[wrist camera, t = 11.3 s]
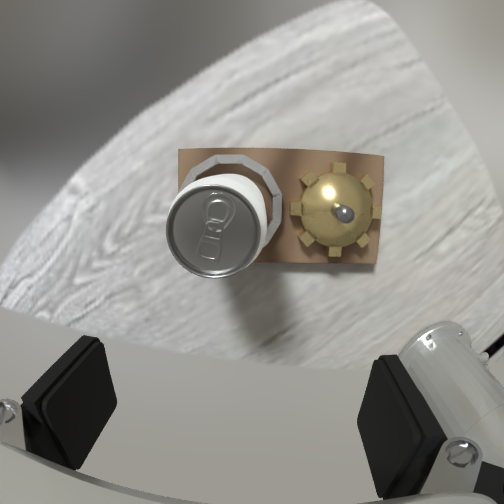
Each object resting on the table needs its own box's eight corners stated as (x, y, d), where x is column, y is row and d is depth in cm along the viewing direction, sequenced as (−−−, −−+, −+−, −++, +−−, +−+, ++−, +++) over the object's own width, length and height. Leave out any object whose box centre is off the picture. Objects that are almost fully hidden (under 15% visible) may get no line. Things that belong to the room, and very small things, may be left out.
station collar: (281, 155, 28) (282, 155, 27) (279, 255, 31) (280, 258, 30) (180, 156, 28) (177, 155, 27) (182, 253, 31) (179, 256, 30)
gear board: (378, 156, 29) (384, 156, 28) (371, 259, 32) (376, 263, 31) (182, 150, 30) (178, 149, 28) (184, 256, 33) (180, 260, 31)
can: (272, 183, 29) (281, 193, 17) (254, 247, 31) (252, 297, 19) (206, 166, 29) (171, 165, 17) (190, 231, 30) (150, 269, 19)
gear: (378, 166, 28) (396, 166, 24) (372, 253, 30) (388, 266, 26) (290, 160, 28) (295, 159, 24) (287, 251, 31) (292, 265, 26)
